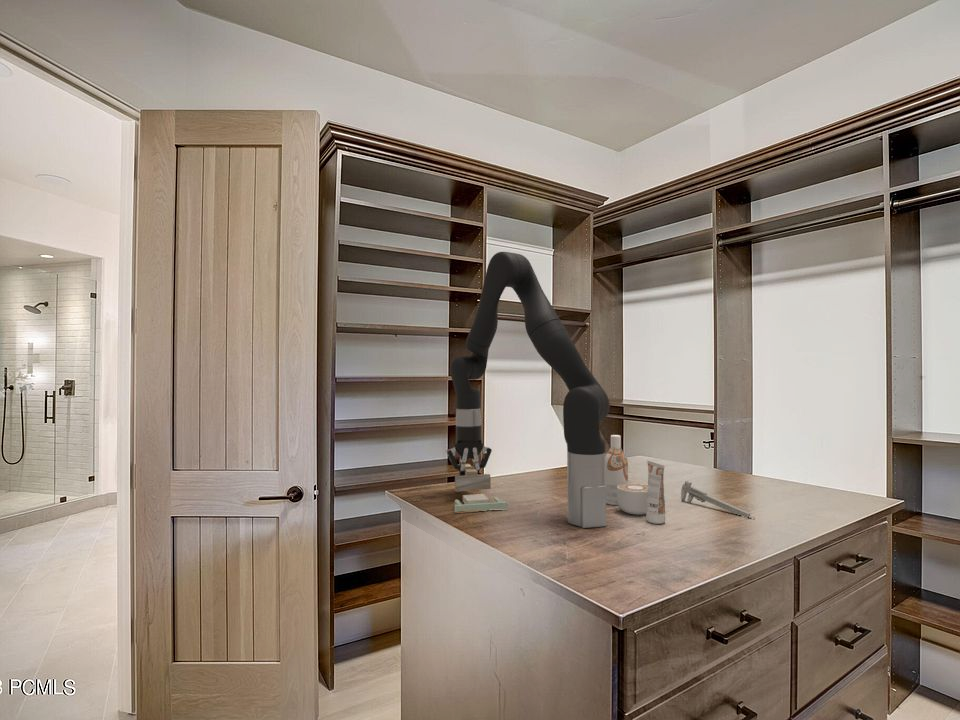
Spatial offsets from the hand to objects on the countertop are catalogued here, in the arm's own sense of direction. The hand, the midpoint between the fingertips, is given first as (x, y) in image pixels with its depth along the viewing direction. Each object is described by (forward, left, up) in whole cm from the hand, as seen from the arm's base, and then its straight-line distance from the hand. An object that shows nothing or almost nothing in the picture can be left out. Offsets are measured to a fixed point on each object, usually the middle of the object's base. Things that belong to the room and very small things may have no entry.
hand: (469, 482), depth 152 cm
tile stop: (-13, 0, -4) cm, 14 cm away
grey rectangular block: (+1, 0, -1) cm, 1 cm away
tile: (-9, 0, -4) cm, 10 cm away
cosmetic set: (-26, -39, -4) cm, 47 cm away
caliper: (-29, -61, -5) cm, 67 cm away
